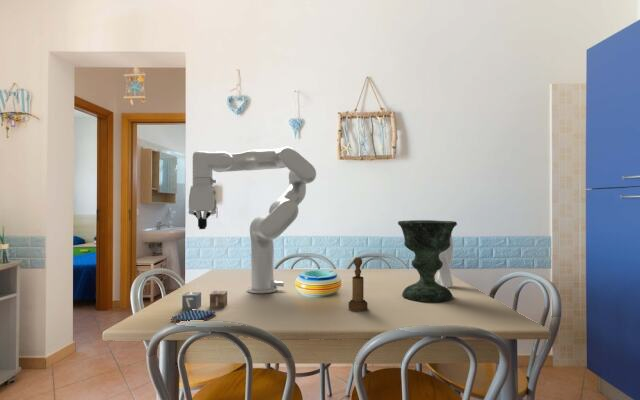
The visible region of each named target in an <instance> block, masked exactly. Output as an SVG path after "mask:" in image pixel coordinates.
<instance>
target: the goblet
mask: <svg viewBox="0 0 640 400" xmlns="http://www.w3.org/2000/svg"><path fill="white" fill-rule="evenodd" d="M397 224H398V226H399V227H400V228H401V231H402V234H403V237H404V238H403V239H404V242H403V244H404V245H403V246H405V248H407V250H409V251H411V252H413V253H414V258H413V259H412V260H411V266H412V268H414V269H416V271H417V272H418V274H419V279H418V281H417V282H414V283H413V284H410V285H408V286H406V287H405V288H404V290H403V291H402V294H401V295H402V297H403V298H405V299H409V300H413V301H418V302H426V303H427V302H429V303H437V302H438V303H439V302H440V303H441V302H447V301H451V300H453V299H454V296H453V294H452V292H451V290H450V288H446V287H444V286H441V285H439V284H437V283H436V279H435V280H434V276H435V275H436V273H438V270H440V269H441V268H442V265H443V263H442V261H440V259H439V254H440V253H441V252H443V251H445V250H447V249H448V248H449V247H450V237H451V235H452V233H453V231H454V228H455V227H456V226H458V223H457V221H455V220H454V221H453V220H436V219H435V220H429V219H427V220H426V219H425V220H424V219H422V220H421V219H420V220H419V219H415V220H398V221H397Z"/></svg>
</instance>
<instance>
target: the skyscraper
mask: <svg viewBox="0 0 640 400" xmlns="http://www.w3.org/2000/svg"><path fill="white" fill-rule="evenodd" d="M453 254H454V245H453V236H452V234H451V237H450V247H449V248H448V249H447V250H445V251H443V252H441V253H440V254H439V259H440V261H442V263H443V265H442V268H441V269H440V270H438V271H437V276H436V277H437V278H436V277H435V276H434V280H435V282H436V283H437V284H439V285H441V286H444V287H449V288H453V287H454V284H453V279H452V274H451V270H450V269H451V266H452V262H453V261H452V260H453V256H454V255H453ZM452 286H453V287H452Z"/></svg>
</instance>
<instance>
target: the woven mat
mask: <svg viewBox="0 0 640 400" xmlns="http://www.w3.org/2000/svg"><path fill="white" fill-rule="evenodd" d="M216 312H217V311H212V310H210V311H208V310H201V309H197V310H192V309H191V310H186V311H185V310H184V312H181V313H178V314H176V315H175V316H171V318H170V322H171V323H172V321H173V323H176V322H178V323H180V322H179V321H187V320H188V321H190V320H205V321H207V320H209V319H208V318H210V317H212V318H213V317H216V316H217V314H216ZM210 319H211V318H210Z"/></svg>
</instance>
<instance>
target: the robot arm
mask: <svg viewBox="0 0 640 400" xmlns="http://www.w3.org/2000/svg"><path fill="white" fill-rule="evenodd" d="M285 168H287V169H288V170H289V171H288V172H289V173H288V180H289V181H288V182H289V184H288V187H287V189H286V190H285V191H284V192H283V193H282V194H281V195H280V196H278V198H277V199H275V201H273V203H271V205H270V206H269V210H268V215H267V216H264V215H262V216H257V217H255V218H254V219H253V220H252V221H251V222H250V224H249V235H250V236H249V238H250V249H251V252H250V254H251V255H250V259H251V260H250V261H251V262H250V270H251V271H250V272H251V273H250V278H251V279H250V280H251V281H250V286H249V287H247V292H249V293H251V294H268V293H269V294H270V293H274V292H276V291H278V287H280V288H281V287H283V288H284V287H285V282H284V281H281V280H280V281H277V280H276V278H275V275H274V274H275V273H274V263H275V259H274V254H275V249H274V240H275V239H277V238H279V237H280V236H281V234H283V233H284V232H285V231H286V230H287V229H288V228H289V227H290V226H291V225H292V224H293V223H294V222H295V220H296V219H297V217H298V214H299V205H300V204H301V203H302V202H303V200H304V199H305V197H306V193H307V192H306V191H307V184H311V183H312V182H314V180H315V179H316V178H317V171H316V168H315V167H314V166H313V164H312V163H311V162H310V161H308V160H307V158H305V157H303V156H302V155H301V154H300V153H299V152H298V151H296V150H295V149H293V148H292V147H291V146H290V147H289V146H284V147H281V148H276V149H275V148H273V149H272V148H270V149H253V150H252V149H251V150H248V151H243V152H238V153H229V152H226V151H216V152H215V151H214V152H213V151H211V152H209V151H202V150H200V151H199V150H198V151H194V152H193V154H192V186H190V189H189V195H188V214H189V215H192V216H195V218H196V219H197V227H198V230H205V229H207V226H208V219H209V217H210V216H211V215H212V216H213V215H216V214H217V193H216V187H215V186H213V185H214V184H216V183H217V180H216V179H214V178H213V171H214V172H216V173H226V172H240V171H243V172H244V171H261V170H275V169H277V170H278V169H279V170H280V169H285ZM202 212H203V213H202Z"/></svg>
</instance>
